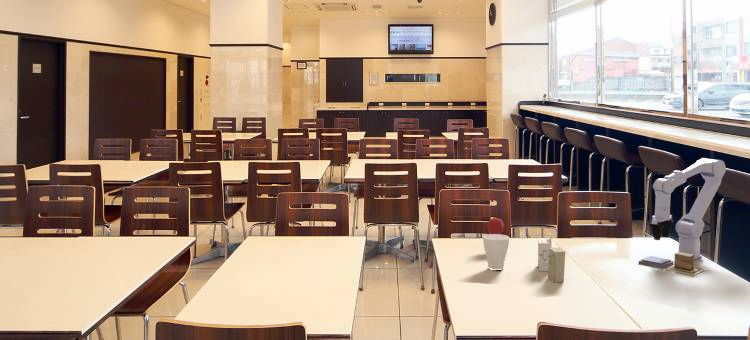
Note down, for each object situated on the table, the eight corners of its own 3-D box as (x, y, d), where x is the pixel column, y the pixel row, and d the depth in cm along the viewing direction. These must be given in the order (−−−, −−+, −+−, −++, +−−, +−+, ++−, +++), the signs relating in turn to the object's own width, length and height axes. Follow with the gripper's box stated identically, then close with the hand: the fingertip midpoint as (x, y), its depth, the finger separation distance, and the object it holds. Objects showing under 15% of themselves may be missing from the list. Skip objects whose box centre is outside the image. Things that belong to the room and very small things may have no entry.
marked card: (677, 264, 256) (677, 263, 256) (705, 269, 248) (705, 268, 248) (665, 269, 249) (665, 268, 249) (694, 275, 241) (694, 274, 241)
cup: (510, 266, 256) (510, 234, 254) (507, 273, 246) (507, 240, 244) (484, 264, 259) (485, 233, 257) (480, 271, 249) (481, 238, 247)
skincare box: (547, 278, 240) (548, 247, 238) (558, 277, 240) (559, 247, 239) (553, 282, 233) (554, 251, 232) (564, 282, 234) (565, 251, 232)
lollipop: (487, 252, 279) (487, 219, 277) (486, 247, 287) (487, 216, 285) (504, 252, 278) (504, 220, 276) (503, 248, 285) (504, 216, 283)
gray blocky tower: (537, 265, 257) (538, 231, 255) (549, 266, 256) (550, 231, 254) (538, 271, 249) (539, 235, 247) (551, 272, 248) (552, 236, 246)
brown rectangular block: (678, 266, 253) (679, 251, 252) (693, 269, 248) (694, 254, 247) (674, 268, 250) (674, 253, 249) (689, 271, 245) (690, 256, 245)
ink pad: (649, 259, 265) (649, 255, 264) (673, 263, 257) (673, 259, 257) (638, 263, 258) (638, 259, 258) (662, 268, 251) (662, 264, 250)
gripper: (660, 203, 268) (659, 234, 270) (645, 207, 259) (643, 239, 260) (677, 205, 263) (675, 236, 264) (662, 210, 253) (660, 242, 255)
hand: (661, 238), depth 262 cm, fingers open, 7 cm apart
